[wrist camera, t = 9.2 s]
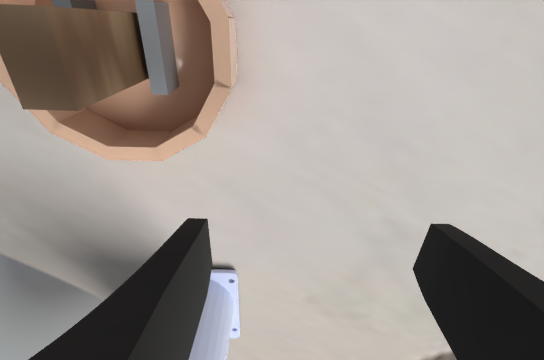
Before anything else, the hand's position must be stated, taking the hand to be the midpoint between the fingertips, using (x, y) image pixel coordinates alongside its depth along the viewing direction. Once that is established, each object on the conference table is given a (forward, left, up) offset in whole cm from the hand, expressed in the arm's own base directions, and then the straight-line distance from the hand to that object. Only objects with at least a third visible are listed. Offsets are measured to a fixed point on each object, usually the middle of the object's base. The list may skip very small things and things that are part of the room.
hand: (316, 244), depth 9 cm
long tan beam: (+5, +9, -9) cm, 14 cm away
